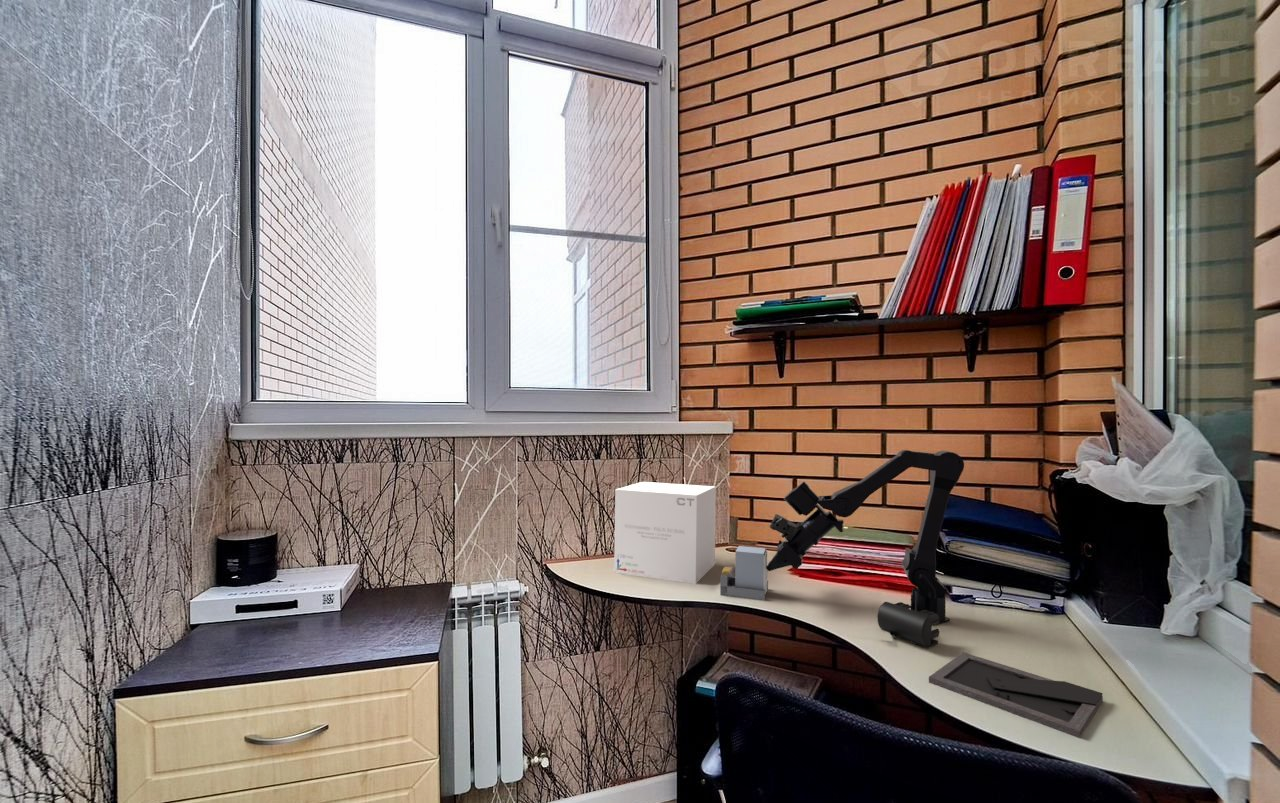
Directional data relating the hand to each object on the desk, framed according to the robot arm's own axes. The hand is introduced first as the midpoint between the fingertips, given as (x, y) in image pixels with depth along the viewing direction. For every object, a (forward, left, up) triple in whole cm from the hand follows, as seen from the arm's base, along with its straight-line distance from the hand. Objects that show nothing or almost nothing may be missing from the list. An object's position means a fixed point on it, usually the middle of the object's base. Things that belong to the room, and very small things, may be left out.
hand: (767, 569), depth 138 cm
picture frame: (-54, -8, -8) cm, 56 cm away
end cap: (-32, -11, -8) cm, 35 cm away
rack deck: (-1, -1, -8) cm, 8 cm away
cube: (+35, +10, -8) cm, 37 cm away
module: (+3, +3, -6) cm, 8 cm away
